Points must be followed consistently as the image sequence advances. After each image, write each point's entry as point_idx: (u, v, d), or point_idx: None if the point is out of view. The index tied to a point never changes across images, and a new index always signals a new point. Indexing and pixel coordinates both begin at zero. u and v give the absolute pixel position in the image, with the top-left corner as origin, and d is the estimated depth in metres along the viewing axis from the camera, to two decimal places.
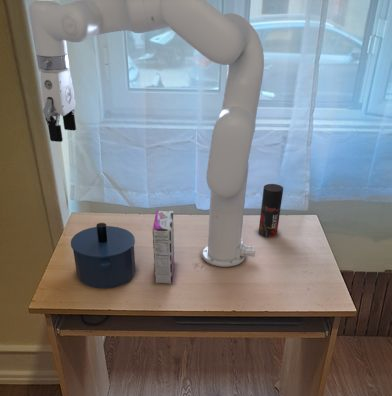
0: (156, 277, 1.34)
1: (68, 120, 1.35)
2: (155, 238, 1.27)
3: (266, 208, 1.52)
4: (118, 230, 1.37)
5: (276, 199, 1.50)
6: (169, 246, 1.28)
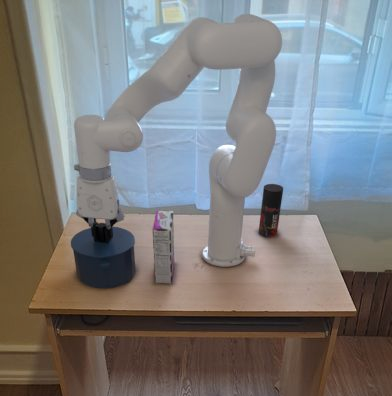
0: (156, 277, 1.34)
1: None
2: (155, 238, 1.27)
3: (266, 208, 1.52)
4: (118, 230, 1.37)
5: (276, 199, 1.50)
6: (169, 246, 1.28)
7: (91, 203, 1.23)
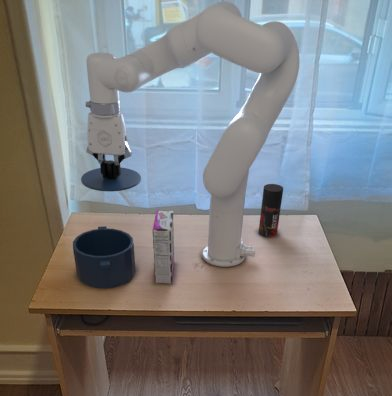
0: (156, 277, 1.34)
1: None
2: (155, 238, 1.27)
3: (266, 208, 1.52)
4: (125, 170, 1.47)
5: (276, 199, 1.50)
6: (169, 246, 1.28)
7: (101, 139, 1.33)
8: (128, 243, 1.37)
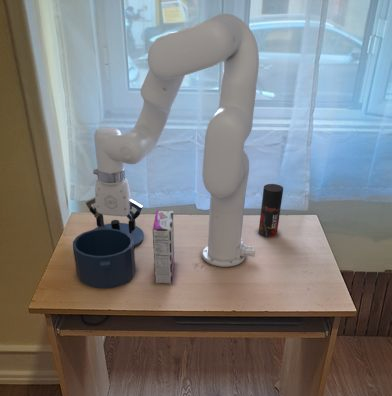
0: (156, 277, 1.34)
1: None
2: (155, 238, 1.27)
3: (266, 208, 1.52)
4: None
5: (276, 199, 1.50)
6: (169, 246, 1.28)
7: (107, 202, 1.44)
8: (128, 243, 1.37)
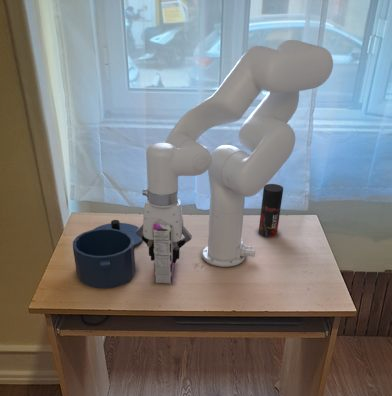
0: (156, 277, 1.34)
1: None
2: (155, 238, 1.27)
3: (266, 208, 1.52)
4: (129, 226, 1.59)
5: (276, 199, 1.50)
6: (169, 246, 1.28)
7: None
8: (128, 243, 1.37)
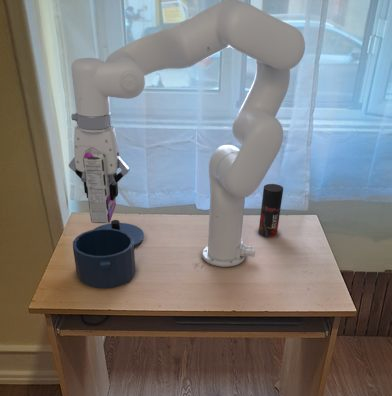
0: (91, 215, 1.23)
1: None
2: (87, 168, 1.15)
3: (266, 208, 1.52)
4: (129, 226, 1.59)
5: (276, 199, 1.50)
6: (103, 178, 1.16)
7: None
8: (128, 243, 1.37)
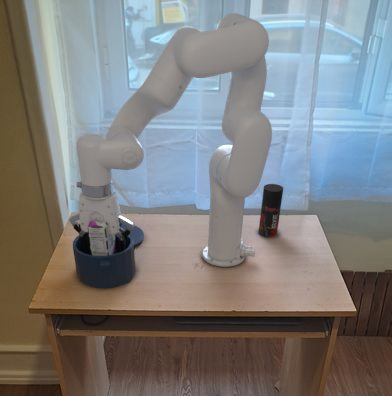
0: None
1: None
2: (91, 235, 1.26)
3: (266, 208, 1.52)
4: None
5: (276, 199, 1.50)
6: (105, 243, 1.27)
7: (93, 219, 1.26)
8: (128, 243, 1.37)
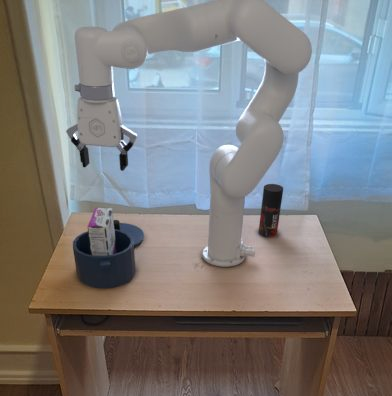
0: None
1: None
2: (91, 235, 1.26)
3: (266, 208, 1.52)
4: (129, 226, 1.59)
5: (276, 199, 1.50)
6: (105, 243, 1.27)
7: (93, 128, 1.16)
8: (128, 243, 1.37)
